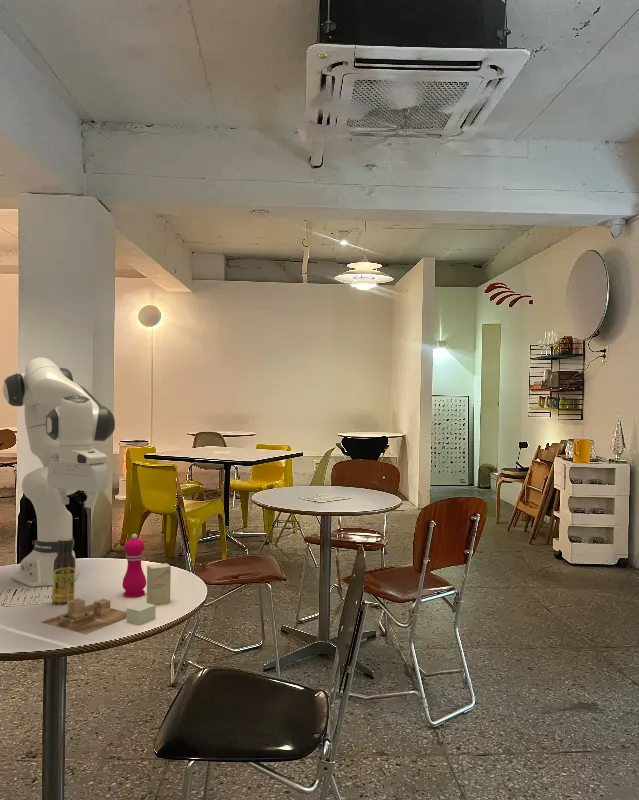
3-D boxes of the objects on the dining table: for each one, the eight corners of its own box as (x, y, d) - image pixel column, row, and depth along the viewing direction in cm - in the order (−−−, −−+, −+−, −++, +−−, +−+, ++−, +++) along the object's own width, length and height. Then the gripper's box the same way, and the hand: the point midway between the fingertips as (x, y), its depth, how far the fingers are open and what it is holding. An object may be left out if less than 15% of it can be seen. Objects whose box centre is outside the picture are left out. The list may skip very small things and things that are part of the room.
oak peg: (67, 623, 180) (67, 601, 180) (76, 620, 183) (76, 598, 183) (75, 625, 179) (75, 603, 179) (84, 622, 181) (84, 600, 181)
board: (40, 625, 181) (40, 609, 181) (92, 607, 197) (92, 592, 197) (85, 638, 172) (85, 620, 172) (136, 617, 188) (136, 601, 188)
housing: (126, 625, 182) (126, 608, 182) (142, 618, 187) (142, 602, 187) (139, 628, 179) (139, 611, 179) (155, 622, 185) (155, 604, 185)
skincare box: (150, 609, 195) (150, 568, 195) (146, 605, 199) (146, 565, 199) (171, 606, 198) (171, 565, 198) (166, 602, 202) (166, 562, 202)
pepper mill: (139, 602, 202) (139, 536, 202) (118, 600, 203) (118, 535, 203) (150, 594, 209) (150, 531, 209) (129, 593, 211) (129, 530, 210)
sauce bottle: (53, 609, 195) (53, 542, 194) (50, 603, 200) (50, 538, 200) (76, 606, 198) (76, 540, 197) (73, 600, 203) (73, 536, 203)
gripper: (41, 454, 183) (41, 504, 183) (93, 458, 172) (93, 511, 173) (60, 452, 188) (60, 500, 188) (111, 456, 178) (111, 507, 178)
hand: (76, 505), depth 180 cm, fingers open, 8 cm apart
